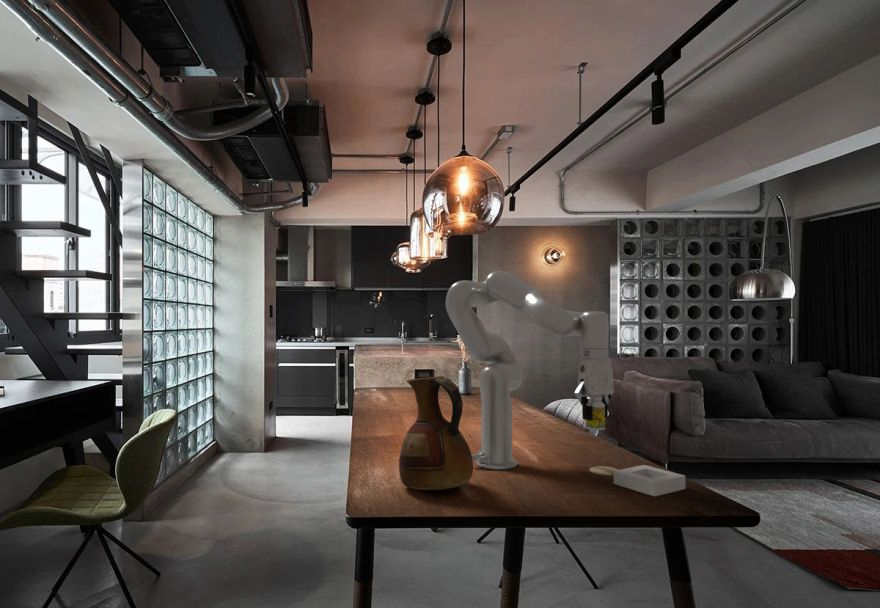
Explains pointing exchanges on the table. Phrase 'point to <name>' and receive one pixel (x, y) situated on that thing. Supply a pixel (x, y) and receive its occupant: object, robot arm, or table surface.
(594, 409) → the supplement bottle
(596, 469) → the cork coaster
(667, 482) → the socket block
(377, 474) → the table surface
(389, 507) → the table surface
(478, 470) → the table surface
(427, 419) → the ceramic pitcher
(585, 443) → the table surface
